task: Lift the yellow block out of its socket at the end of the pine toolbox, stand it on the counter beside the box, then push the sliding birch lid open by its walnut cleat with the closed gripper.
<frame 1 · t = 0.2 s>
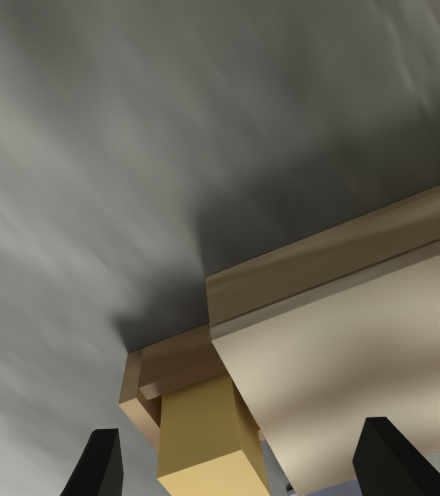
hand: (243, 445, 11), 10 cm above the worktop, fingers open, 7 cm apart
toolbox: (370, 313, 22), on the worktop
yellow block: (207, 372, 23), resting in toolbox
lid: (429, 391, 17), point 6 cm above the worktop, slide at 0.0 cm
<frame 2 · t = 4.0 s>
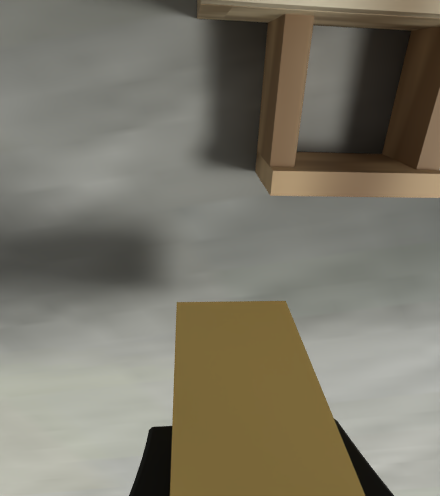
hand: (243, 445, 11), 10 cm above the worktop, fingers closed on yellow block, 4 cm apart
yellow block: (228, 343, 14), point 6 cm above the worktop, touching gripper
when the fingers open (5 cm above the worktop, at t = 5.8 s): yellow block drops 1 cm, on the worktop.
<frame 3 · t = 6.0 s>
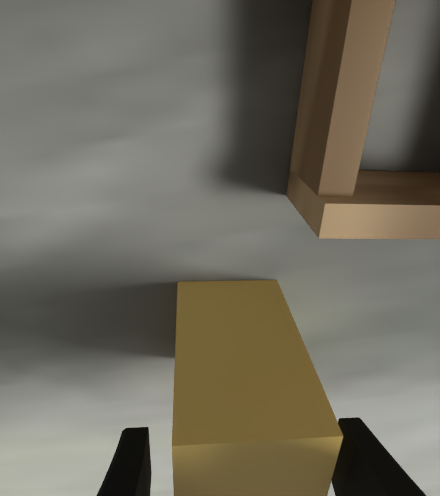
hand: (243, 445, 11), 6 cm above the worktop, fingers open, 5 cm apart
yellow block: (225, 320, 16), on the worktop
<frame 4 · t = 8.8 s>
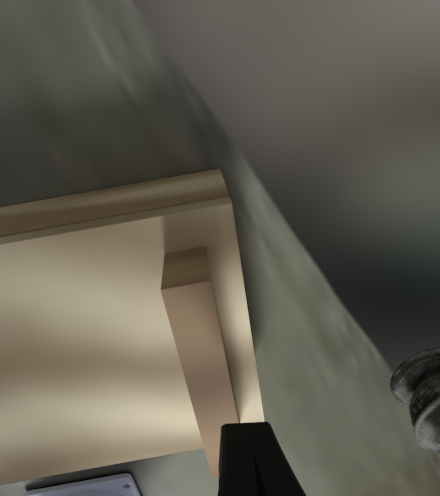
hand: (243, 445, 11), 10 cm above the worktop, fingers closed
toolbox: (97, 306, 20), on the worktop
lid: (67, 389, 15), point 6 cm above the worktop, slide at 0.0 cm
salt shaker: (425, 374, 26), on the worktop
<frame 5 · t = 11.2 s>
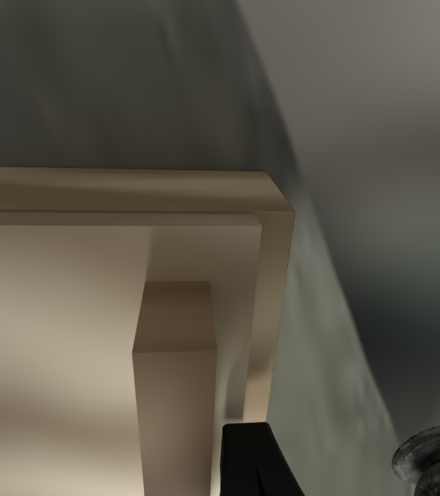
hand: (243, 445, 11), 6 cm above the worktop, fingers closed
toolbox: (63, 320, 15), on the worktop
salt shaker: (433, 451, 22), on the worktop
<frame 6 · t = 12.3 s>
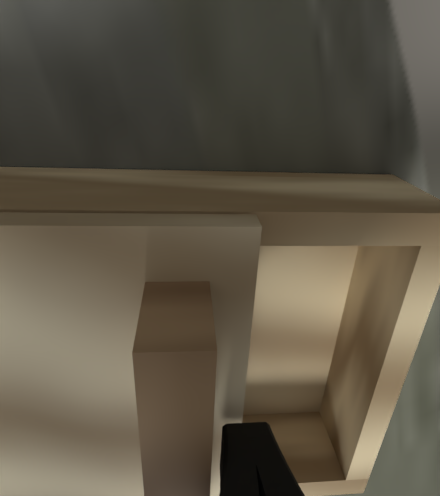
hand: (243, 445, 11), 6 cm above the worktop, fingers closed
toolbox: (178, 318, 16), on the worktop
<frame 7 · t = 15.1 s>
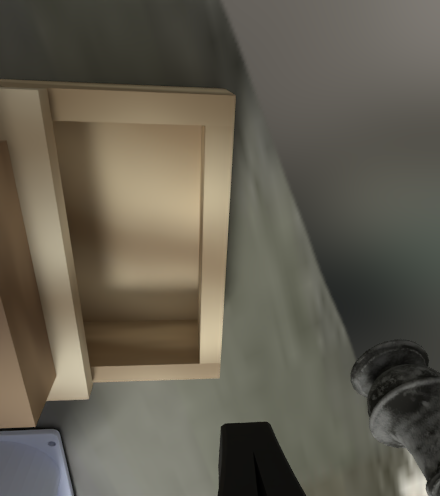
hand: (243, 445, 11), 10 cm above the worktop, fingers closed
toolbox: (57, 224, 18), on the worktop
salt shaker: (387, 367, 25), on the worktop
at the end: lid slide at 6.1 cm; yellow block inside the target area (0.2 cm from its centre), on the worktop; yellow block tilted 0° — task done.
